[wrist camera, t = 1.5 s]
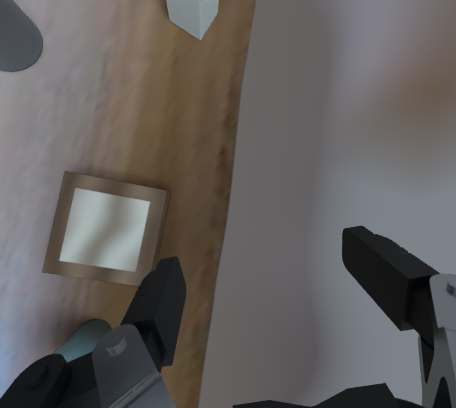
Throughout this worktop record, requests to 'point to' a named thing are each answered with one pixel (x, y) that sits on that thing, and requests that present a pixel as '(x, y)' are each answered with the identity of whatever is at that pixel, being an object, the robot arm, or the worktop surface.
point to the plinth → (106, 230)
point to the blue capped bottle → (84, 339)
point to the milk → (193, 15)
